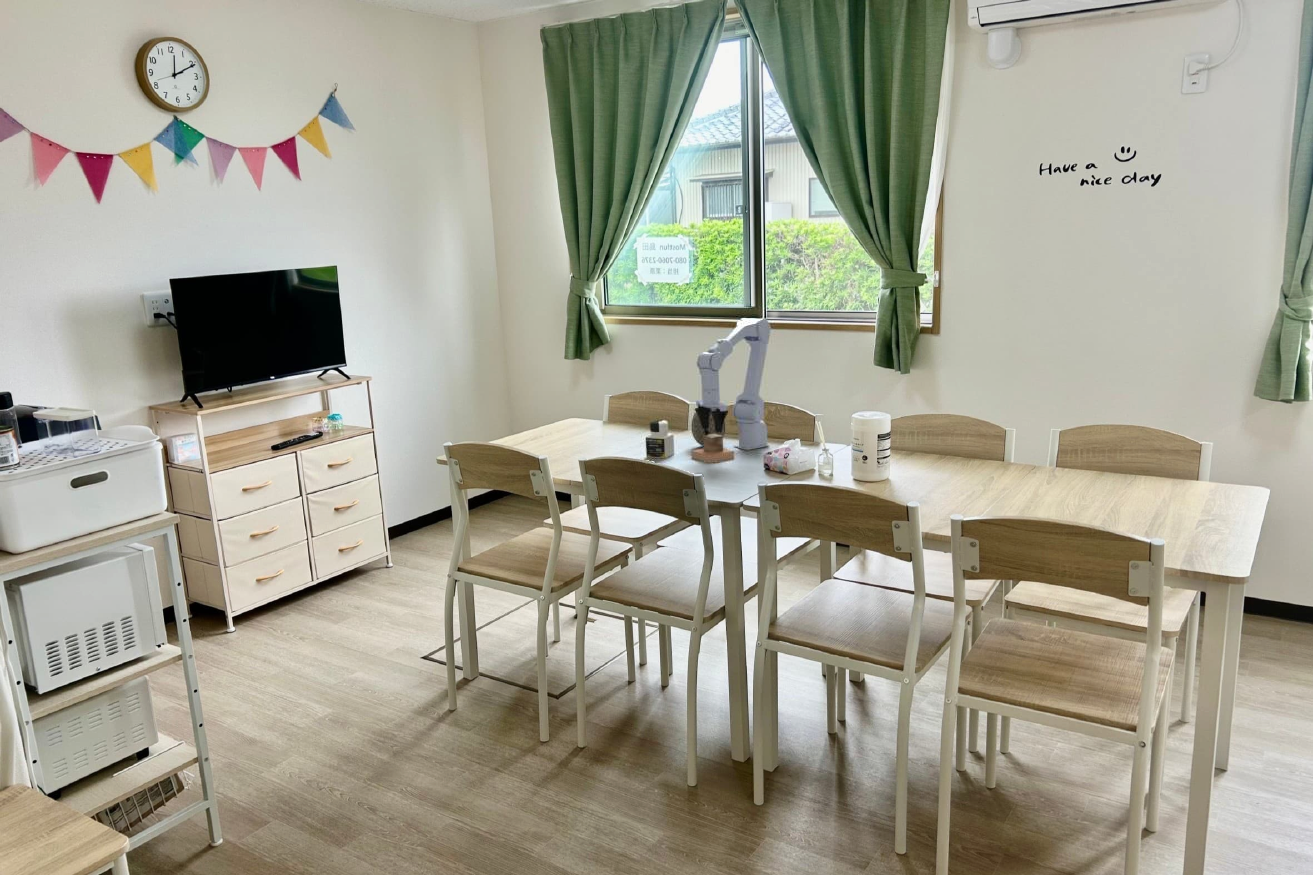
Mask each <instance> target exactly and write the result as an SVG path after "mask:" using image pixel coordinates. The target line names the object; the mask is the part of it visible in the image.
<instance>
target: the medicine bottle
mask: <svg viewBox="0 0 1313 875" xmlns="http://www.w3.org/2000/svg"><path fill="white" fill-rule="evenodd" d="M649 430H650V431H649V432H650V434H648V435H647V436H645V452H646V453H645V454H646V458H651V459H652V458H653V459H664V460H665V459H668V458H669V457H671V456H673V455H675V442H674V441H675V439H674V433H669V423H668V421H667V420H664V419H657V420H656V419H655V420H652V421H651V422H649Z"/></svg>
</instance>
